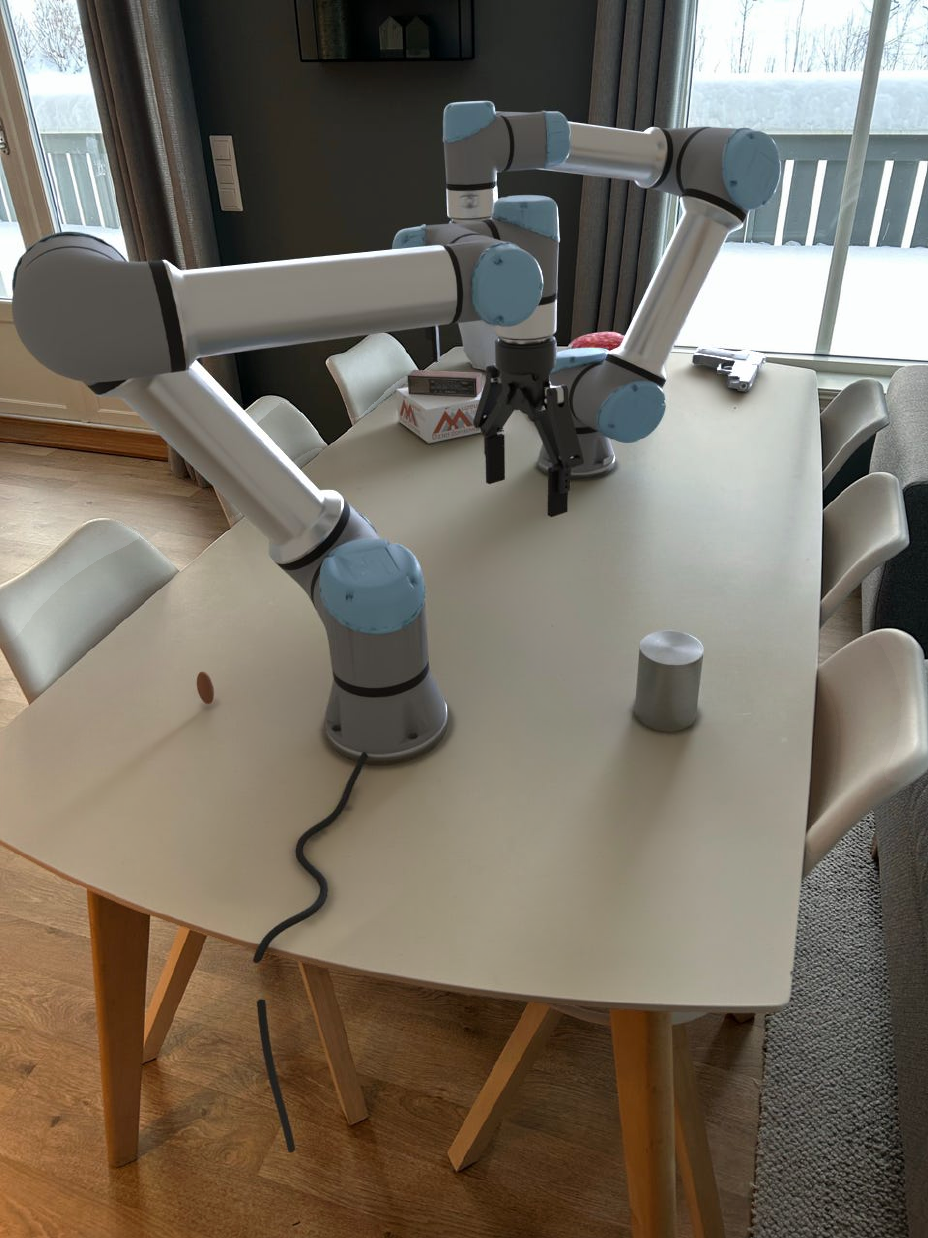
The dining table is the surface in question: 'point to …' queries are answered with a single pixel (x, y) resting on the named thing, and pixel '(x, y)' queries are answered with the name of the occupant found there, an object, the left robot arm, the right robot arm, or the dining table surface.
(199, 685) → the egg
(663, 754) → the dining table surface
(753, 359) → the pistol
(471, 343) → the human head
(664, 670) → the canister
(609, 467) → the right robot arm
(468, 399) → the white boxy piece
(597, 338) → the cake
